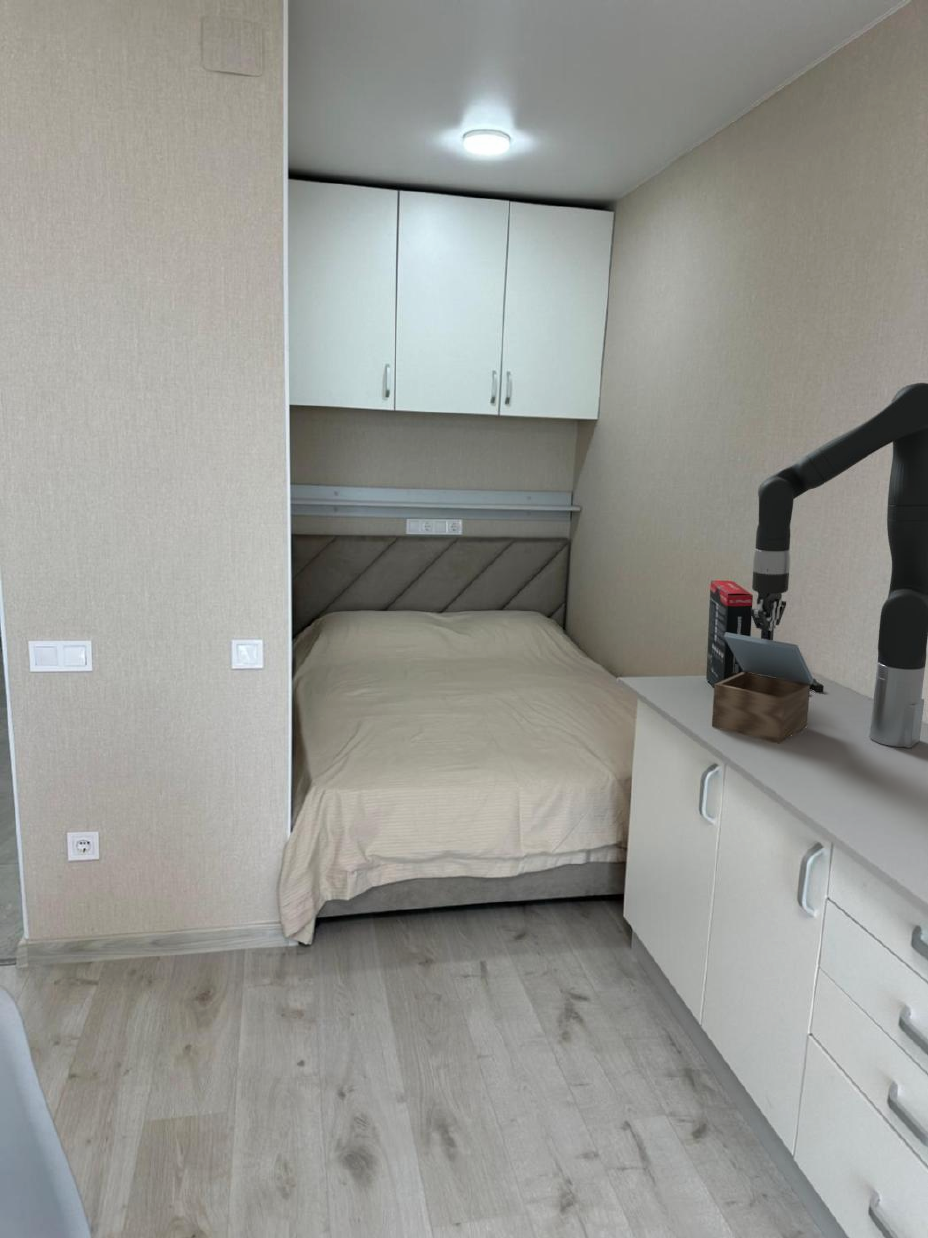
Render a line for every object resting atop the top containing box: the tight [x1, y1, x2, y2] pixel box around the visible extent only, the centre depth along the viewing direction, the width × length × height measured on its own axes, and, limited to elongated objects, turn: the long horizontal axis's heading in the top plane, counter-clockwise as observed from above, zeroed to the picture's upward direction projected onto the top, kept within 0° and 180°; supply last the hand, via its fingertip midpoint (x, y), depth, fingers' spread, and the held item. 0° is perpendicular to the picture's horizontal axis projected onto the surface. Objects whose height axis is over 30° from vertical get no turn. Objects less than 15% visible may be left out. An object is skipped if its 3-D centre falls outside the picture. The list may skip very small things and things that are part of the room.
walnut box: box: [711, 671, 811, 744], centre depth 202 cm, size 16×14×10 cm
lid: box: [724, 632, 814, 685], centre depth 201 cm, size 17×15×1 cm
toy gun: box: [778, 678, 825, 693], centre depth 230 cm, size 10×12×5 cm
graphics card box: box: [705, 580, 754, 689], centre depth 227 cm, size 17×7×27 cm, turn 0°
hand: (766, 645), depth 199 cm, fingers closed
